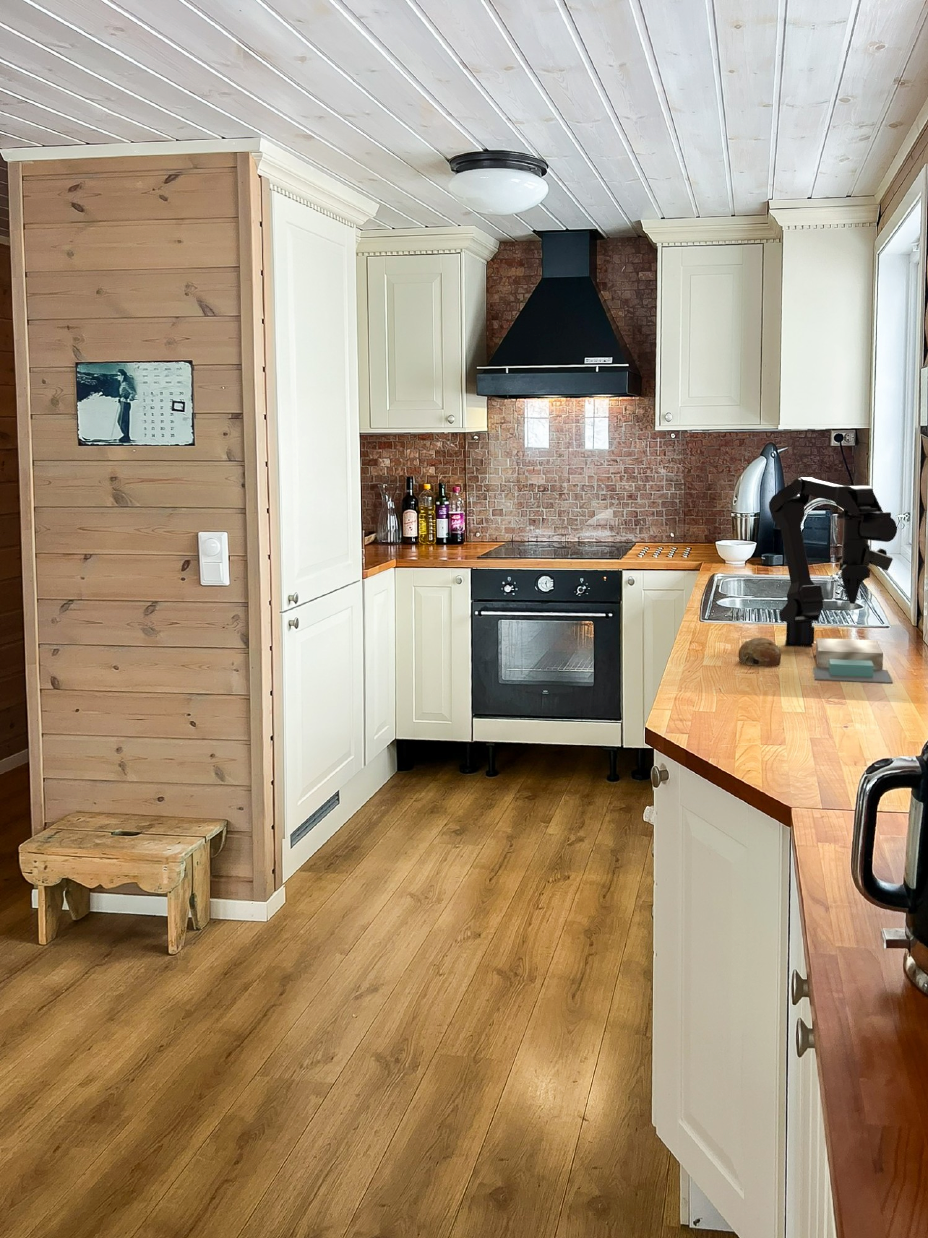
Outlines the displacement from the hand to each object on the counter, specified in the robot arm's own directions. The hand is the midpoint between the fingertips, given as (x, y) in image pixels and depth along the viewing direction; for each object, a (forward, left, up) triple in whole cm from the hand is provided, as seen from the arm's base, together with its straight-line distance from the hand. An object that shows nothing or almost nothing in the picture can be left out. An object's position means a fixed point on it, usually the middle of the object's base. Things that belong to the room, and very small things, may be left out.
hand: (852, 603), depth 277 cm
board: (-1, -8, -13) cm, 15 cm away
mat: (-1, -24, -13) cm, 28 cm away
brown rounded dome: (-21, -13, -13) cm, 28 cm away
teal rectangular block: (-1, -23, -10) cm, 25 cm away
